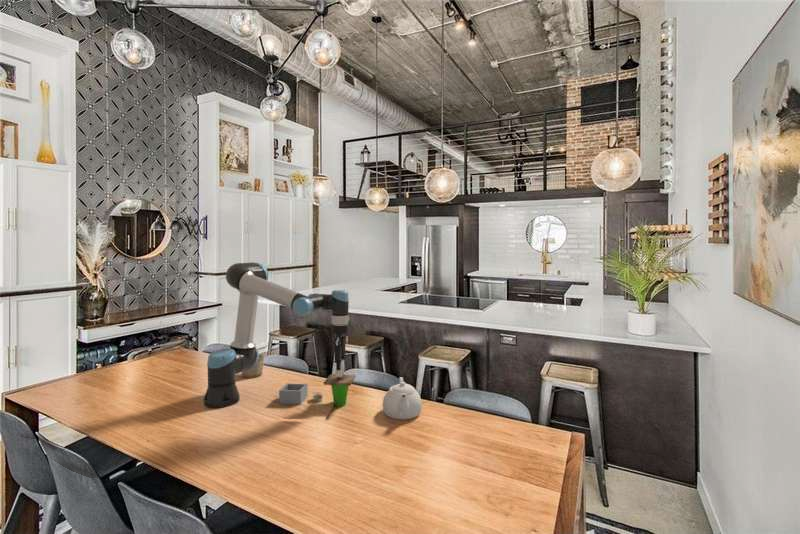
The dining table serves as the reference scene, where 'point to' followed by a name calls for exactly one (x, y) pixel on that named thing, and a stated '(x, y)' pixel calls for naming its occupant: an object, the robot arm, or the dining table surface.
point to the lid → (340, 378)
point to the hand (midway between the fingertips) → (340, 375)
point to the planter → (255, 369)
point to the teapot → (402, 401)
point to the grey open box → (293, 393)
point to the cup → (339, 394)
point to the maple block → (317, 396)
